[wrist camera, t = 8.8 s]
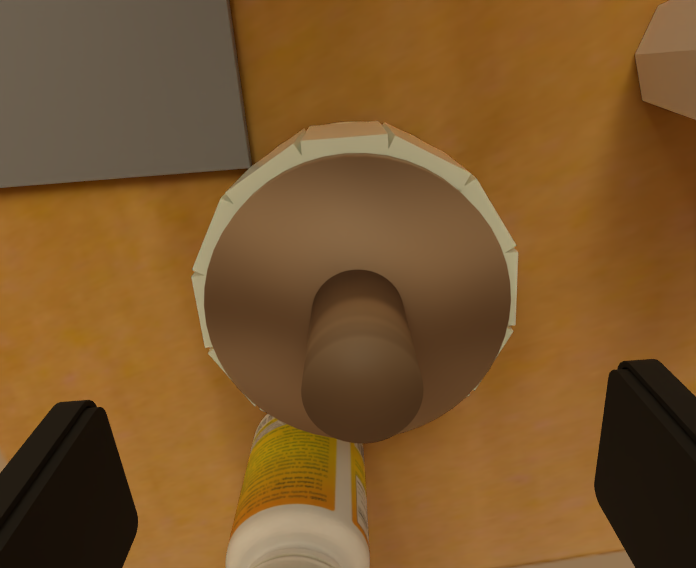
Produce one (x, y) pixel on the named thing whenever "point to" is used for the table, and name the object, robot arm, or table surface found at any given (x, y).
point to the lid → (357, 297)
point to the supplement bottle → (300, 502)
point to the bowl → (342, 141)
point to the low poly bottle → (670, 58)
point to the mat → (118, 90)
